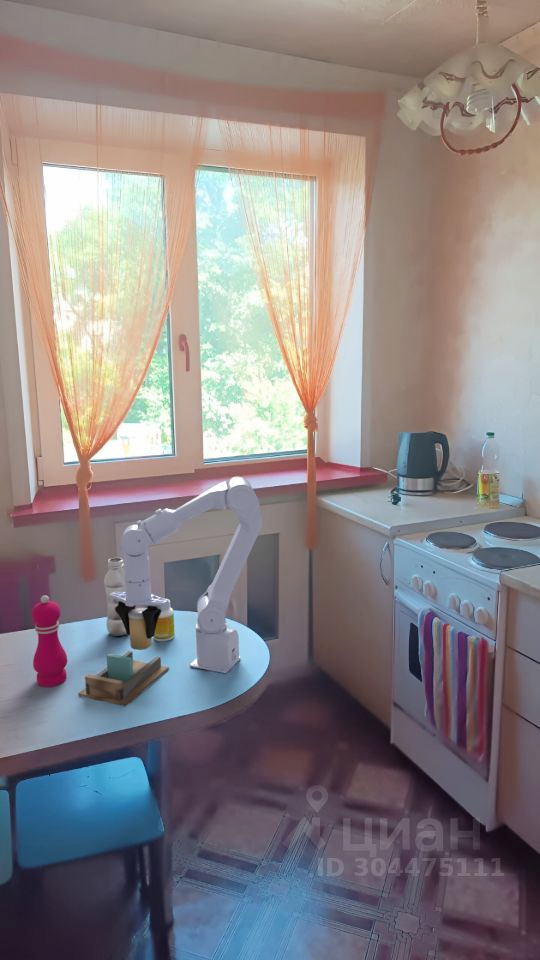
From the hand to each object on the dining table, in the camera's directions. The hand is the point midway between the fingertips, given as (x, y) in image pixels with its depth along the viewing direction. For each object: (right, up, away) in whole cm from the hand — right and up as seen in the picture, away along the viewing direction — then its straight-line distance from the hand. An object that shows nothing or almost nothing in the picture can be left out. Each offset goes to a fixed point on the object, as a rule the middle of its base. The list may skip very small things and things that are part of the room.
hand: (140, 635), depth 148 cm
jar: (0, -2, 0) cm, 2 cm away
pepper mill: (-19, -9, -3) cm, 22 cm away
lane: (-2, -9, -5) cm, 11 cm away
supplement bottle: (+2, -5, +18) cm, 18 cm away
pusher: (-3, -9, -6) cm, 11 cm away
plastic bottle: (-9, -5, +20) cm, 23 cm away
